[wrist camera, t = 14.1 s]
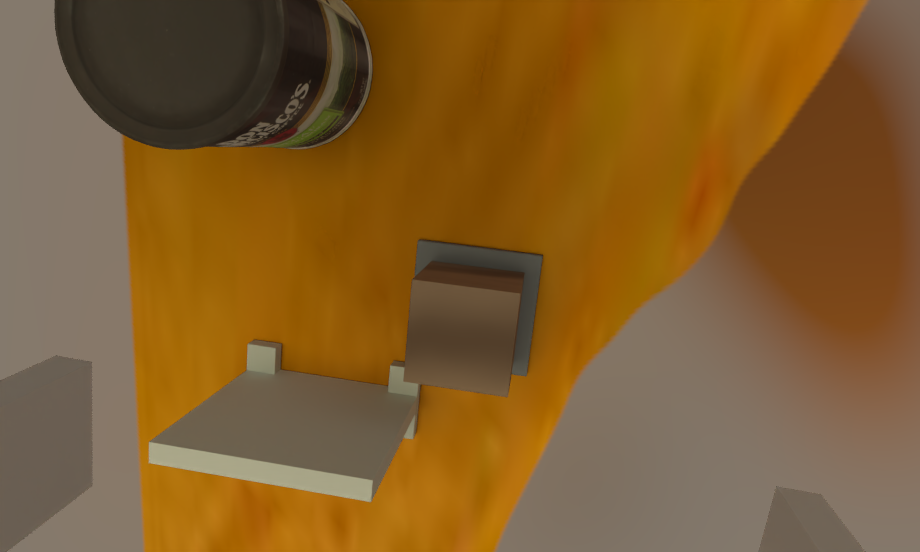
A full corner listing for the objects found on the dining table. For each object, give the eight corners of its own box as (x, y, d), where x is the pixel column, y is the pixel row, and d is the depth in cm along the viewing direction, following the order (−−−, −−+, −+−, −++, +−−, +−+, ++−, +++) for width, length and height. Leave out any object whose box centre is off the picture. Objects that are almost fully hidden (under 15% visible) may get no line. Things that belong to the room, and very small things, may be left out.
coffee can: (401, 107, 40) (324, 85, 26) (263, 174, 42) (124, 187, 28) (330, -52, 38) (209, -163, 25) (191, 26, 41) (9, -37, 27)
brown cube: (431, 260, 41) (412, 279, 35) (524, 272, 40) (520, 293, 34) (422, 352, 42) (402, 385, 36) (512, 365, 41) (507, 400, 36)
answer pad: (419, 239, 41) (417, 240, 41) (542, 255, 40) (542, 256, 40) (408, 355, 43) (407, 358, 42) (526, 373, 42) (526, 376, 41)
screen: (254, 339, 44) (149, 407, 33) (422, 364, 43) (375, 445, 31) (251, 406, 45) (148, 495, 34) (415, 432, 44) (368, 535, 32)
